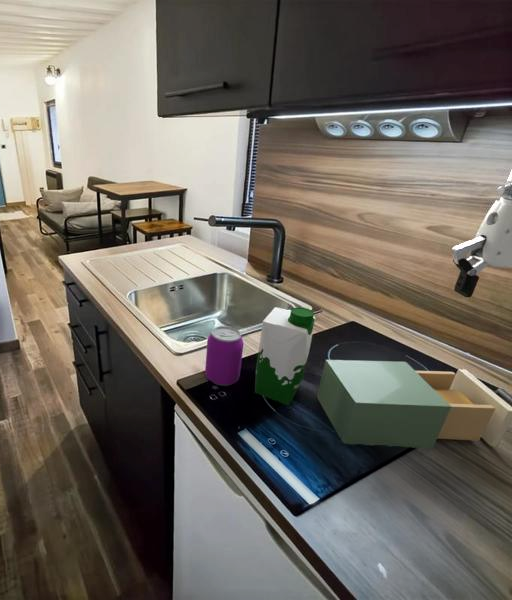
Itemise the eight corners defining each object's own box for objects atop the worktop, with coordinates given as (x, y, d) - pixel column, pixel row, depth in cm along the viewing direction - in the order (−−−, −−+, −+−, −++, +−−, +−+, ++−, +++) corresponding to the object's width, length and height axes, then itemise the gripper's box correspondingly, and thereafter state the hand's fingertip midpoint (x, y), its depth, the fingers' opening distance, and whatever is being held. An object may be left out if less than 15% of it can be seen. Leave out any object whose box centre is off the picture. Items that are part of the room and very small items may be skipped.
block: (450, 408, 69) (458, 389, 67) (467, 425, 65) (476, 406, 64) (424, 407, 70) (432, 389, 68) (440, 423, 66) (448, 405, 64)
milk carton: (292, 410, 74) (310, 324, 65) (248, 393, 79) (259, 311, 71) (304, 387, 80) (321, 306, 71) (262, 373, 85) (273, 295, 77)
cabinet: (392, 400, 75) (405, 361, 71) (432, 448, 64) (451, 406, 60) (316, 397, 77) (325, 359, 73) (343, 444, 66) (355, 402, 62)
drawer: (482, 402, 72) (498, 369, 68) (534, 448, 62) (556, 412, 58) (377, 398, 74) (387, 366, 71) (411, 441, 64) (425, 407, 61)
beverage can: (210, 389, 81) (213, 343, 76) (201, 368, 88) (203, 325, 83) (244, 386, 81) (250, 341, 76) (232, 366, 88) (237, 323, 83)
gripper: (493, 199, 53) (453, 303, 61) (633, 195, 51) (573, 304, 58) (456, 190, 60) (424, 285, 67) (578, 186, 58) (531, 285, 65)
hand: (493, 294), depth 63 cm, fingers open, 9 cm apart
